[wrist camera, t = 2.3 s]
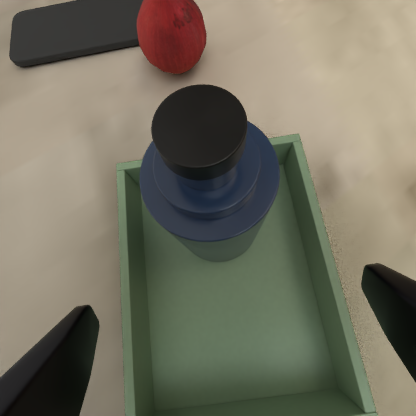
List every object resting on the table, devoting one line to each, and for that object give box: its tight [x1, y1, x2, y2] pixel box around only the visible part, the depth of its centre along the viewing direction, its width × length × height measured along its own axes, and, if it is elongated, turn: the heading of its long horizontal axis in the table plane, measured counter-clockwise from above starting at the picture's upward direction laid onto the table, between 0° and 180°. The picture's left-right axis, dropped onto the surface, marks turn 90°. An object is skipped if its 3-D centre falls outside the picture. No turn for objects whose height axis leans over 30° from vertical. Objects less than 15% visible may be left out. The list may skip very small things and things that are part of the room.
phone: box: [9, 0, 143, 67], centre depth 28 cm, size 7×1×15 cm
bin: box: [116, 134, 378, 416], centre depth 18 cm, size 17×13×4 cm
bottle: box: [139, 84, 280, 262], centre depth 14 cm, size 6×6×13 cm
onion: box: [137, 0, 206, 74], centre depth 22 cm, size 6×6×8 cm
